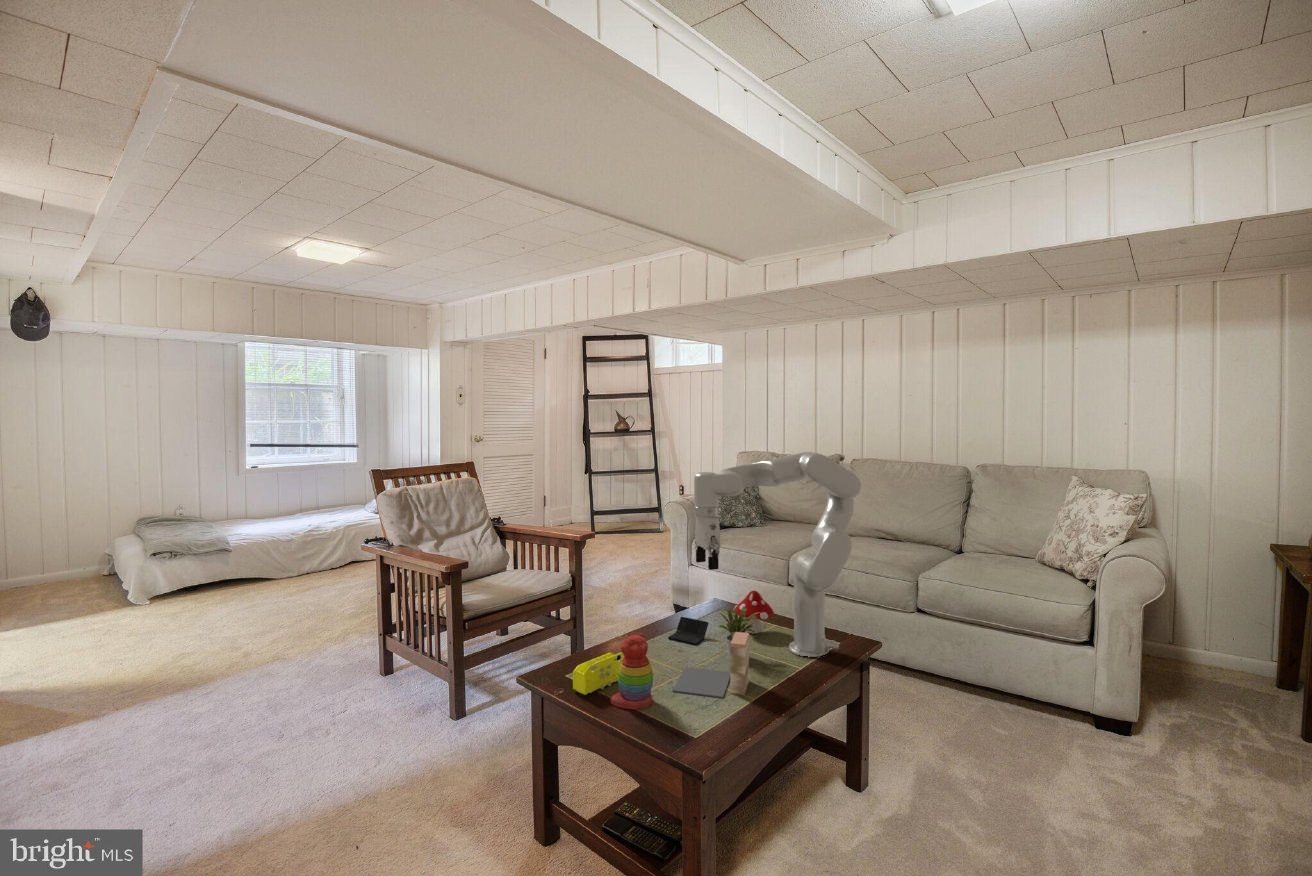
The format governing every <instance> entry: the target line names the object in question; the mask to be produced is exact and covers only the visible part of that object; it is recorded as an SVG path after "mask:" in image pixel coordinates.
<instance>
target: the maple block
mask: <svg viewBox="0 0 1312 876" xmlns="http://www.w3.org/2000/svg"><path fill="white" fill-rule="evenodd" d="M729 665H730V666H729V667H730V670H729V672H730V680H729V682H730V685H729V686H730V688H729V690H730V693H729V694H733V695H742V696H745V695H746V692H747V689H748V685H749V682H750V633H749V632H745V633H743V632H735V634H734V636H733V639H732V641H731V659H730V664H729Z"/></svg>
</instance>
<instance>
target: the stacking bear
mask: <svg viewBox="0 0 1312 876" xmlns="http://www.w3.org/2000/svg"><path fill="white" fill-rule="evenodd" d="M648 649H649V646H648V642H647V640H646V639H645V634H644V633H639V635H638V634H634V635H633V634H632V635H630V636H628V637H626V639H625V640H624V642H622V644H621V645H620V650H621V652H622V653H623V655H624V657H623V658H622V661H621V664H620V669H619V673H618V681H617V682H618V683H617V684H618V689H619V692H617V693H615V694H613V695H612V696H611V697H610V701H609V702H610V704H611V705H612V706H615V707H617V708H621V709H627V710H641V709H644V708H648V707H650V705H652V704H653V695H652V693H651V692H652V690H653V689H652V688H653V682H654V671H653V668H652V663H651V661H650V659H649V657H647V653H648Z"/></svg>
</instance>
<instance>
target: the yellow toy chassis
mask: <svg viewBox="0 0 1312 876" xmlns="http://www.w3.org/2000/svg"><path fill="white" fill-rule="evenodd" d="M623 657H624V655H623V653H622V651H621V652H618V653H617V654H615V653H613V652H608V653H605V654H603V655H601V656H598V657H595V658H592V659H590V660H587V661H585V662H582V663H580V664H578V665H577V666H576V667H575V669H573V672H572V689H573V690H575V691H577V693H580V694H582V695H585V696H586V695H588V693H590V694H592V692H593V693H595V691H597V690H598V689H600V690H604V689H605V687H606V686H608V687H611V686H612V683H617V682H618V673H619V669H620V664H621V661H622V658H623Z"/></svg>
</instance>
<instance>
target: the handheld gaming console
mask: <svg viewBox="0 0 1312 876" xmlns="http://www.w3.org/2000/svg"><path fill="white" fill-rule="evenodd" d="M708 626H709V621H704V620H700V619H696V618H695V619H694V618H690V617H684V616H681V617H680V618H679V621H678V625H677V627H676V631H675V632H674V633H673V634H671V635H669V636H668V637H667V639H668V640H670V641H673V642H677V643H683V644H687V645H691V646H696V647H697V646H698V645H700V644H701V643H702V642H704V641H705V638H706V633H707V630H708V628H709V627H708Z"/></svg>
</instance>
